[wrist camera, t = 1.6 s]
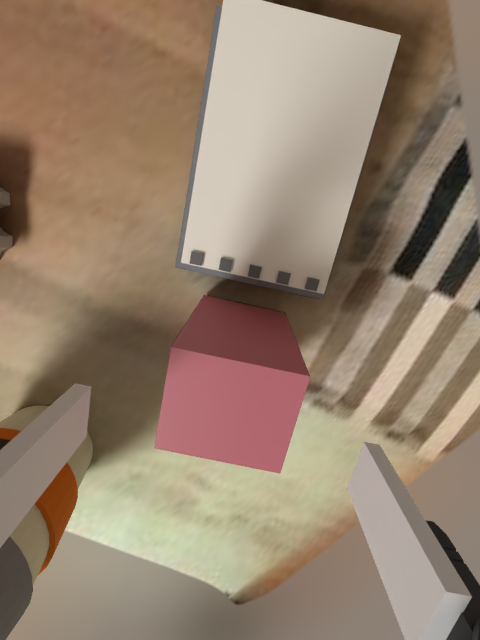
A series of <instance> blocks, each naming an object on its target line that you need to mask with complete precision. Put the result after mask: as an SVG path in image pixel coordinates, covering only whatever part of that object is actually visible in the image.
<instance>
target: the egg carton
mask: <svg viewBox="0 0 480 640" xmlns="http://www.w3.org/2000/svg"><path fill="white" fill-rule="evenodd" d="M9 205H10V193H9V192H7V191H5V190H3V189H2V188H1V187H0V209H1V208H2V207H5V206H9ZM12 245H13V237H12V235H10V234H7V233H6V232H4V231H3V230H2V229H1V227H0V258H1V254H2V252H3V251H4V250H6V249H8V248H11V247H12Z"/></svg>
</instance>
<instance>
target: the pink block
mask: <svg viewBox="0 0 480 640" xmlns="http://www.w3.org/2000/svg"><path fill="white" fill-rule="evenodd" d="M309 379H310V375H309V372H308V370H307V367H306V365H305V362H304V360H303V357H302V355H301V352H300V350H299V347H298V345H297V342H296V340H295V337H294V335H293V332H292V330H291V327H290V325H289V322H288V320H287V317H286V315H285V313H284V312H279V311H275V310H270V309H265V308H261V307H256V306H252V305H247V304H242V303H238V302H233V301H229V300H224V299H219V298H215V297H210V296H206V295H204V296H203V298H202V299H201V301H200V302H199V304H198V305H197V307H196V309H195V310H194V312H193V313H192V315H191V316H190V318H189V320H188V321H187V323H186V324H185V326H184V327H183V329H182V331H181V332H180V334H179V335H178V337H177V338H176V340H175V342H174V343H173V345H172V346H171V350H170V356H169V362H168V368H167V374H166V380H165V386H164V392H163V398H162V404H161V410H160V416H159V423H158V429H157V435H156V441H155V447H154V448H155V449H160V450H165V451H171V452H176V453H181V454H186V455H191V456H196V457H201V458H206V459H211V460H216V461H221V462H226V463H231V464H236V465H241V466H246V467H251V468H256V469H261V470H266V471H271V472H276V473H281V469H282V466H283V463H284V460H285V456H286V453H287V450H288V447H289V443H290V440H291V437H292V434H293V430H294V427H295V424H296V421H297V417H298V414H299V411H300V408H301V404H302V401H303V398H304V395H305V391H306V388H307V385H308V382H309Z"/></svg>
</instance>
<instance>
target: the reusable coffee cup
mask: <svg viewBox="0 0 480 640" xmlns="http://www.w3.org/2000/svg"><path fill="white" fill-rule="evenodd" d="M48 407H49V406H44V405H38V406H30V407H26V408H24V409H22V410H19V411H18V412H16V413H14V414H13V415H11V416H9V417H8V418H6V419H4V420H3V421H1V422H0V438H2V439H8V440H12V439H13V438H14V437H15V436H17V435H18V434H19V433H20V432H21V431H22V430H23V429H24V428H26V427H27V426H28V425H29V424H30V423H31V422H32V421H33V420H34V419H36V418H37V417H38V416H39V415H40V414H41V413H42V412H43V411H45V410H46V409H47V408H48ZM92 456H93V444H92V440H91V437H90V435H89V433H88V431H87V437H86V438H85V439H84V441H83V442H82V443H81V444H80V446H79V447H78V448H77V450H76V451H75V452H74V453H73V455H72V456H71V457H70V459H69V460H68V461H67V462H66V464H65V465H64V466H63V468H62V469H61V470H60V472H59V473H58V474H57V475H56V477H55V478H54V479H53V481H52V482H51V483H50V484H49V486H48V487H47V488H46V490H45V491H44V492H43V493H42V495H41V496H40V497H39V499H38V500H37V501H36V502H35V504H34V505H33V506H32V508H31V509H30V510H29V512H28V513H27V514H26V515H25V517H24V518H23V519H22V521H21V522H20V523H19V524H18V526H17V527H16V528H15V530H14V531H13V532H12V533H11V535H10V536H9V537H8V539H7V540H6V541H5V542H4V544H3V545H2V546H1V548H0V640H6V638H7V637H8V635H9V634H10V632H11V631H12V630H13V628H14V627H15V625H16V624H17V622H18V621H19V619H20V618H21V616H22V615H23V614H24V612H25V610H26V608H27V607H28V605H29V603H30V600H31V596H32V592H33V583H34V582H35V579H36V577H37V576H38V575H39V574H40V573H41V572H42V571H43V570H44V569H45V568H46V567H47V565H48V563H49V562H50V560H51V558H52V557H53V554H54V552H55V550H56V548H57V546H58V543H59V541H60V539H61V537H62V535H63V532H64V530H65V528H66V526H67V524H68V521H69V519H70V517H71V515H72V512H73V510H74V508H75V505H76V501H77V498H78V488H79V486H80V484H81V482H82V480H83V477H84V475H85V473H86V471H87V469H88V467H89V465H90V463H91V460H92Z"/></svg>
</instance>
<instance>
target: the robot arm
mask: <svg viewBox="0 0 480 640" xmlns="http://www.w3.org/2000/svg"><path fill="white" fill-rule="evenodd" d="M90 397H91V386H86V385H82V384H77V383H75V384H74V385H72V386H71V387H70V388H69V389H68V390H67V391H66V392H65V393H64V394H62V395H61V396H60V397H59V398H58V399H57V400H56V401H55V402H53V403H52V404H51V405H50V406H49V407H48V408H47V409H46V410H45V411H43V412H42V413H41V414H40V415H39V416H38V417H37V418H36V419H34V420H33V421H32V422H31V423H30V424H29V425H28V426H27V427H26V428H24V429H23V430H22V431H21V432H20V433H19V434H18V435H17V436H15V437H14V438H13V439H12V440H8V439H2V438H0V548H1V546H2V545H3V544H4V542H5V541H6V540H7V539H8V537H9V536H10V535H11V533H12V532H13V531H14V530H15V528H16V527H17V526H18V524H19V523H20V522H21V521H22V519H23V518H24V517H25V515H26V514H27V513H28V512H29V510H30V509H31V508H32V506H33V505H34V504H35V502H36V501H37V500H38V499H39V497H40V496H41V495H42V493H43V492H44V491H45V490H46V488H47V487H48V486H49V484H50V483H51V482H52V481H53V479H54V478H55V477H56V475H57V474H58V473H59V472H60V470H61V469H62V468H63V466H64V465H65V464H66V462H67V461H68V460H69V459H70V457H71V456H72V455H73V453H74V452H75V451H76V450H77V448H78V447H79V446H80V444H81V443H82V442H83V441H84V439H85V438H86V437H87V427H88V417H89V407H90ZM347 490H348V492H349V495H350V498H351V500H352V503H353V506H354V508H355V511H356V513H357V516H358V519H359V521H360V524H361V526H362V529H363V532H364V534H365V537H366V539H367V542H368V545H369V547H370V550H371V552H372V555H373V558H374V560H375V563H376V565H377V568H378V571H379V573H380V576H381V578H382V581H383V584H384V586H385V589H386V592H387V594H388V597H389V599H390V602H391V604H392V607H393V610H394V612H395V615H396V617H397V620H398V623H399V625H400V628H401V630H402V633H403V636H404V638H405V640H480V585H479V584H478V582H477V581H476V579H475V578H474V576H473V575H472V573H471V571H470V570H469V568H468V567H467V565H466V564H464V562H463V559H462V558H461V556H460V555H459V553H458V552H456V548H455V547H454V545H453V544H452V543H451V541H450V539H449V538H448V536H447V535H446V534H445V533H444V532H443V531H442V530H441V529H440V528H439V527H438V526H437V525H436V524H435V523H434V522H432V521H426V520H425V519H424V517H423V515H422V514H421V512H420V511H419V509H418V507H417V506H416V504H415V503H414V501H413V499H412V497H411V496H410V494H409V493H408V491H407V489H406V488H405V486H404V484H403V483H402V481H401V479H400V478H399V476H398V475H397V473H396V471H395V470H394V468H393V466H392V465H391V463H390V461H389V460H388V458H387V457H386V455H385V453H384V452H383V450H382V448H381V447H380V445H377V444H372V443H367V442H364V444H363V446H362V449H361V452H360V454H359V457H358V460H357V462H356V465H355V468H354V470H353V473H352V476H351V478H350V481H349V483H348V486H347Z"/></svg>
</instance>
